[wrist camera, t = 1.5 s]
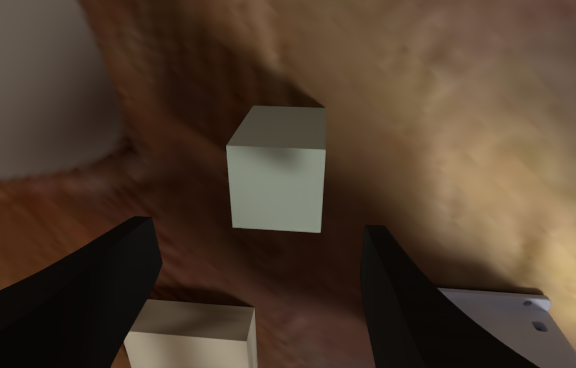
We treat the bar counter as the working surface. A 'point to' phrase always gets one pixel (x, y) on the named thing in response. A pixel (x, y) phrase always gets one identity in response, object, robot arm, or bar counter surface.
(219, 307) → the birch block
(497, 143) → the bar counter surface
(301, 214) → the sage block
